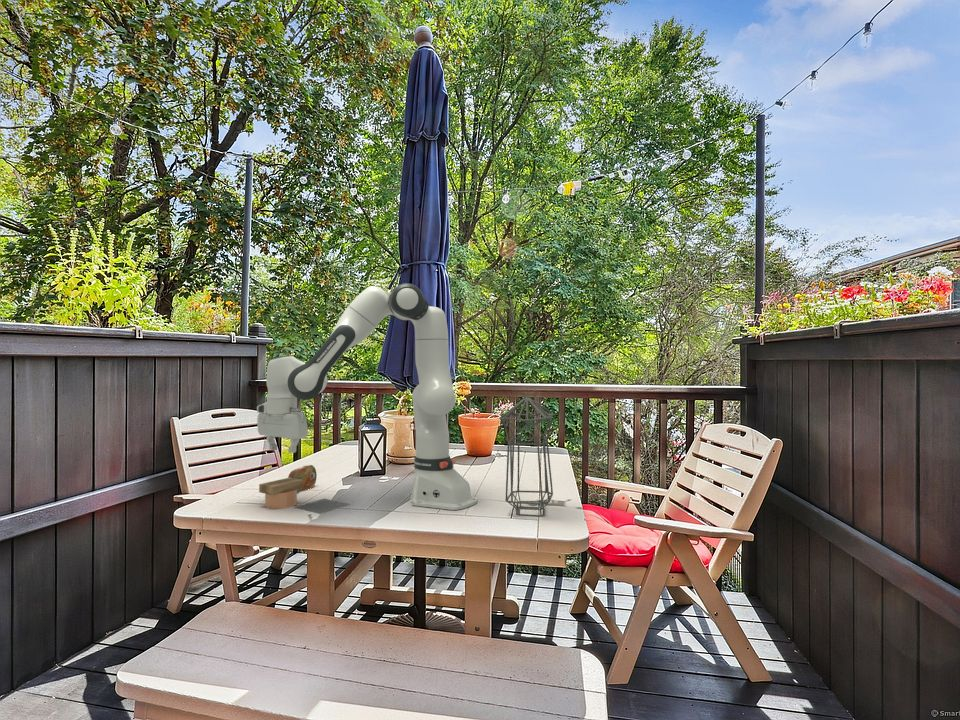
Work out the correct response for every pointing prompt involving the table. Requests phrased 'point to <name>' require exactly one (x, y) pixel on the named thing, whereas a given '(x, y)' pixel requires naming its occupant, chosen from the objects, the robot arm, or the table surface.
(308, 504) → the mat
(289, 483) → the cover board
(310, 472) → the brown mottled rounded slab
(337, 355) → the robot arm
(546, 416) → the geometric lantern
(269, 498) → the bowl
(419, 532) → the table surface
